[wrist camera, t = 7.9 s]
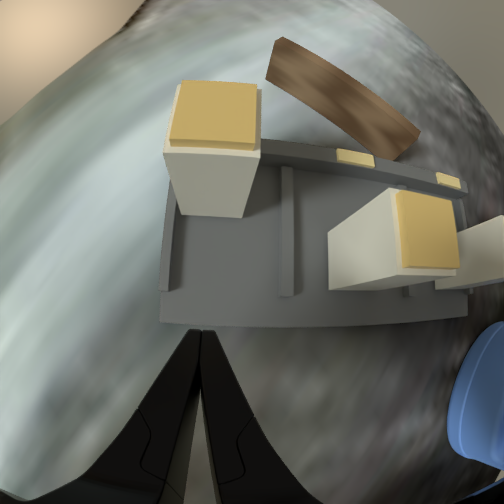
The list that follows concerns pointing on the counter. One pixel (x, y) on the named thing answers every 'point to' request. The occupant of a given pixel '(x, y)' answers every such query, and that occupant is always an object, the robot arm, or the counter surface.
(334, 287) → the button middle
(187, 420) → the robot arm
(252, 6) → the counter surface
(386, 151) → the plaque
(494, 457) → the water jug
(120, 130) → the counter surface
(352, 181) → the button board
